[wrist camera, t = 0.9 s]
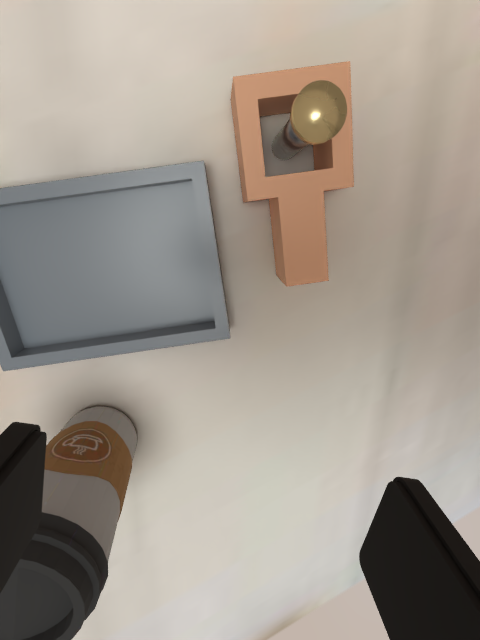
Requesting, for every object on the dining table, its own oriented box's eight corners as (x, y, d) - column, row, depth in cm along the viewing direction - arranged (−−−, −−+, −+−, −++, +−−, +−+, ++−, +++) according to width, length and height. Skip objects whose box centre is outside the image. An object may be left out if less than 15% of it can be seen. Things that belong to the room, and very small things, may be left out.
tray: (204, 165, 26) (203, 160, 24) (229, 328, 30) (230, 338, 28) (-37, 198, 26) (-63, 196, 23) (20, 358, 30) (2, 371, 27)
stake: (299, 125, 26) (346, 76, 16) (302, 163, 26) (347, 138, 17) (264, 129, 26) (290, 83, 16) (268, 168, 26) (295, 145, 17)
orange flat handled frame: (327, 86, 25) (350, 61, 21) (336, 266, 29) (356, 276, 25) (230, 99, 25) (233, 76, 21) (252, 278, 29) (258, 290, 25)
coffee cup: (155, 402, 32) (104, 560, 17) (142, 476, 34) (86, 668, 20) (61, 386, 31) (-76, 539, 16) (53, 463, 33) (-72, 656, 19)
